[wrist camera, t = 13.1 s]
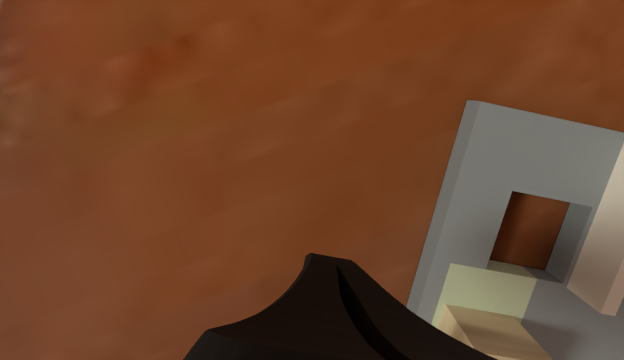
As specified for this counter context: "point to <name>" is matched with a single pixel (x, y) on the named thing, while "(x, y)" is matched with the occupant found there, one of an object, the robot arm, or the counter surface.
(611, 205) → the cubby
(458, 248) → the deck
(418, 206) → the counter surface
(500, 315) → the block
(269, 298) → the counter surface
